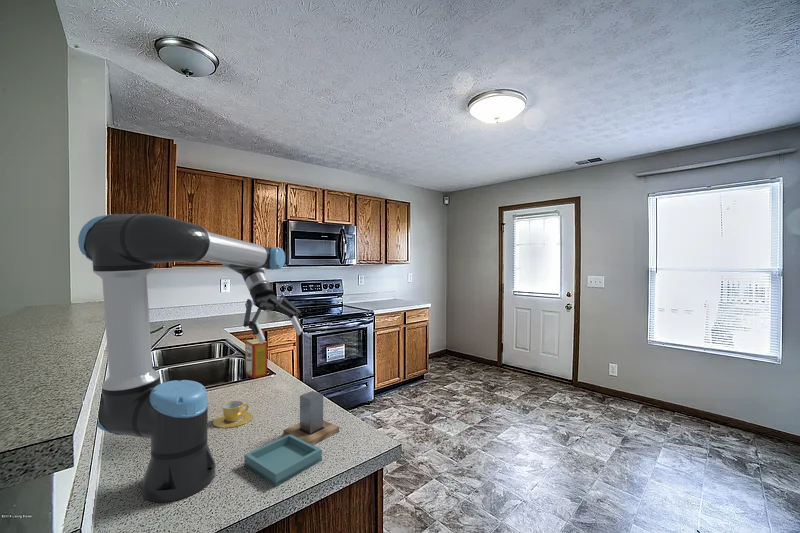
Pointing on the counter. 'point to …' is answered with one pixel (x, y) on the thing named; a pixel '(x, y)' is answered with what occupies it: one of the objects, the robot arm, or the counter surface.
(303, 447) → the tray
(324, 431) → the socket plate
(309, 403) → the grey rectangular block
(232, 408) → the cup
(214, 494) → the counter surface
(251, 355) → the baking soda box
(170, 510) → the counter surface
